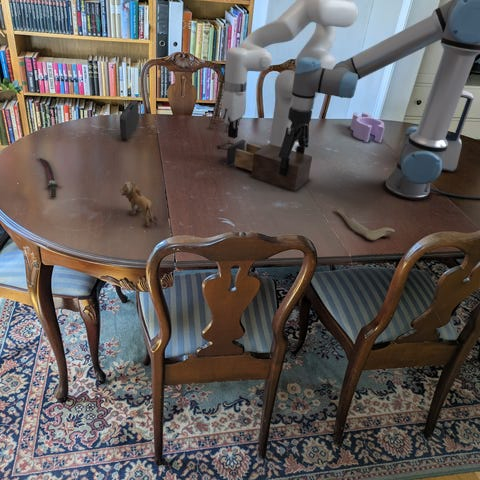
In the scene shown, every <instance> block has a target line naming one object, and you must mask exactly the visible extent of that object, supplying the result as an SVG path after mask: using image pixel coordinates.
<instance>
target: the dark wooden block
mask: <svg viewBox="0 0 480 480" xmlns="http://www.w3.org/2000/svg"><path fill="white" fill-rule="evenodd" d="M262 147H263V148H262V149H260V150H258V151H257V152H255V153H254V156H253V165H252V171H251V175H250V177H251V178H253V179H256V180H260V181H262V182H266V183H269V184H271V185H275V186H277V187H281V188H284V189H287V190H290V191H292V192H295V191H297V190H298V189H299V188H301V186H303V185H304V184H305V183H306V182H308V181H309V178H310V172H311V167H312V162H313V161H312V160H313V155H309V154H306V153H304V154H302V153H299V152H295V151H291V153H290V156H289V158H290V160H289V166H288V172H287V176H286V177H285V176H282V175H279V170H280V164H281V158H280V157H279V153H280V150H281V147H278V146H275V145H272V144H270V143H269V144H266V145H265V146H262Z"/></svg>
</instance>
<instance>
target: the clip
mask: <svg viewBox="0 0 480 480" xmlns="http://www.w3.org/2000/svg"><path fill="white" fill-rule="evenodd" d="M358 114H359V113H358V112H353V114H352V118H351V122H350V126H349V129H350V130H351V131H353V132H352V136H353V137H354V138H356V139H358V140H361V141H363V142H364V143H368V142H369V140H370V135H372V136H374V139H373V140H374V142H376V143H382V140H383V137H384V132H385V129H386V127H385V122H384V121H383V120H380V119H377V118H374V117H372V115H371V114H369V113H366V112H361V115H358Z"/></svg>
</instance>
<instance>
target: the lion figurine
mask: <svg viewBox="0 0 480 480" xmlns="http://www.w3.org/2000/svg"><path fill="white" fill-rule="evenodd" d="M119 193H120V194H121V196H122V197H124V196H125V198H126V199H127V200H128V202H129V203H130V207H131V211H130V212H129V213H130V215H135V214H136V211H137V212H141V214H142V216H143V218H144V219H145V223H144V225H145V227H149V226H150V221H152V223H153V225H155V226H159V222H156V221H155V219H154V217H153V216H154V215H153V204H152V202H151V200H150V199H148V198H146V197H145V196H144V195H143V194H142V192H141V190H140V187H138V185H136V184H135V183H133V182H132V181H125V182H124V186H122V188H121V189H119ZM136 207H137V208H136ZM148 214H149V216H148Z"/></svg>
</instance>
